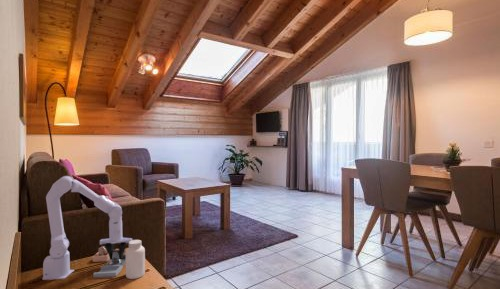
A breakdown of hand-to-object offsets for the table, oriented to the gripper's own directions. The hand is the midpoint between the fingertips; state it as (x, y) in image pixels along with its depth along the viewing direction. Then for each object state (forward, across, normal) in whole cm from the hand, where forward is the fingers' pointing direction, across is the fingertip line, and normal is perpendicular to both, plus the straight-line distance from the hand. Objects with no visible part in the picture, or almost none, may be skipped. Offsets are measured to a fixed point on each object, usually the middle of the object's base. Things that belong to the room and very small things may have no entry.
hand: (116, 258), depth 137 cm
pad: (+3, 0, 0) cm, 3 cm away
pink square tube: (+3, -10, +7) cm, 12 cm away
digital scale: (+3, 0, +1) cm, 3 cm away
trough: (+3, 0, -9) cm, 9 cm away
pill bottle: (+3, +13, -12) cm, 18 cm away
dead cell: (+3, -10, +7) cm, 12 cm away
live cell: (+2, 0, 0) cm, 2 cm away
